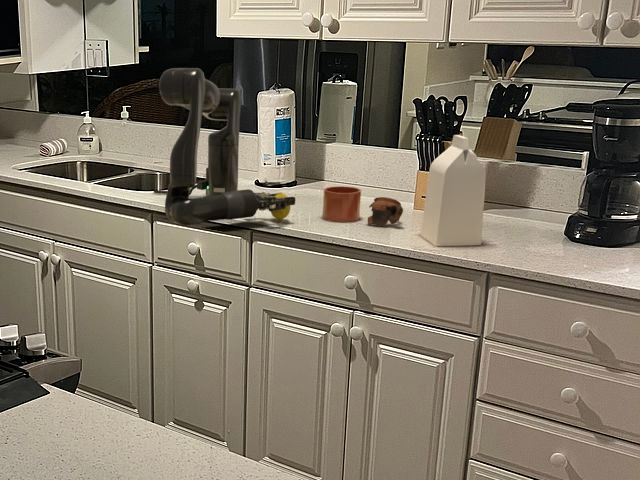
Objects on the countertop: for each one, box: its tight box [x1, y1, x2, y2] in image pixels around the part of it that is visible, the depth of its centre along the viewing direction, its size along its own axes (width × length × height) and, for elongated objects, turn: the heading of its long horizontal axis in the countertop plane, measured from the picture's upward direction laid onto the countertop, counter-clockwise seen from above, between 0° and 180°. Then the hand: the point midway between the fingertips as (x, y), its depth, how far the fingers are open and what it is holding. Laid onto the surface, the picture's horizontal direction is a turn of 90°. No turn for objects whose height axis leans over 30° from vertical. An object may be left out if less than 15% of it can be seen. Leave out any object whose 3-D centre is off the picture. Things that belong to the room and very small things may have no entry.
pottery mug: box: [367, 196, 404, 228], centre depth 256 cm, size 12×10×8 cm
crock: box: [321, 185, 362, 223], centre depth 263 cm, size 10×10×8 cm
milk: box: [419, 134, 487, 247], centre depth 235 cm, size 12×12×26 cm
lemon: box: [270, 192, 291, 222], centre depth 260 cm, size 6×6×8 cm
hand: (288, 198), depth 260 cm, fingers closed on lemon, 5 cm apart
